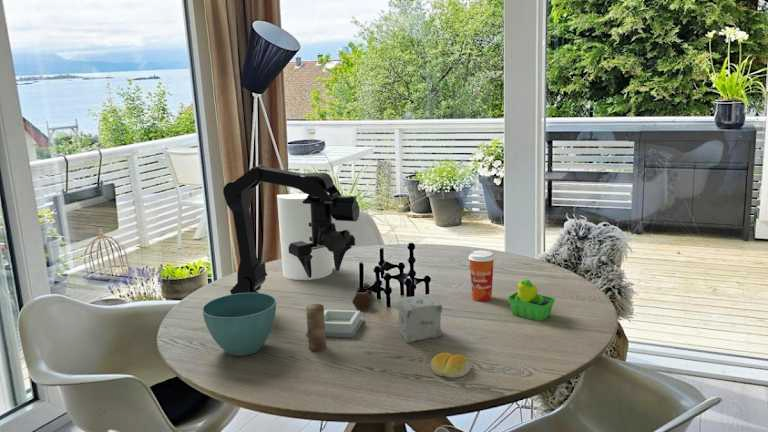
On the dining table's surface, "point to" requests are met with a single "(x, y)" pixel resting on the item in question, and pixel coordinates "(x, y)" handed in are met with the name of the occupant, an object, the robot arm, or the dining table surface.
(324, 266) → the cylinder
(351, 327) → the white tray
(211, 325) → the teal bowl
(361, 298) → the bolt
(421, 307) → the light grey box
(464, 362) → the bread roll
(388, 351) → the dining table surface
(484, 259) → the paper cup
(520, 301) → the fruit basket
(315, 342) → the walnut cylinder
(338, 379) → the dining table surface
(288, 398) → the dining table surface
